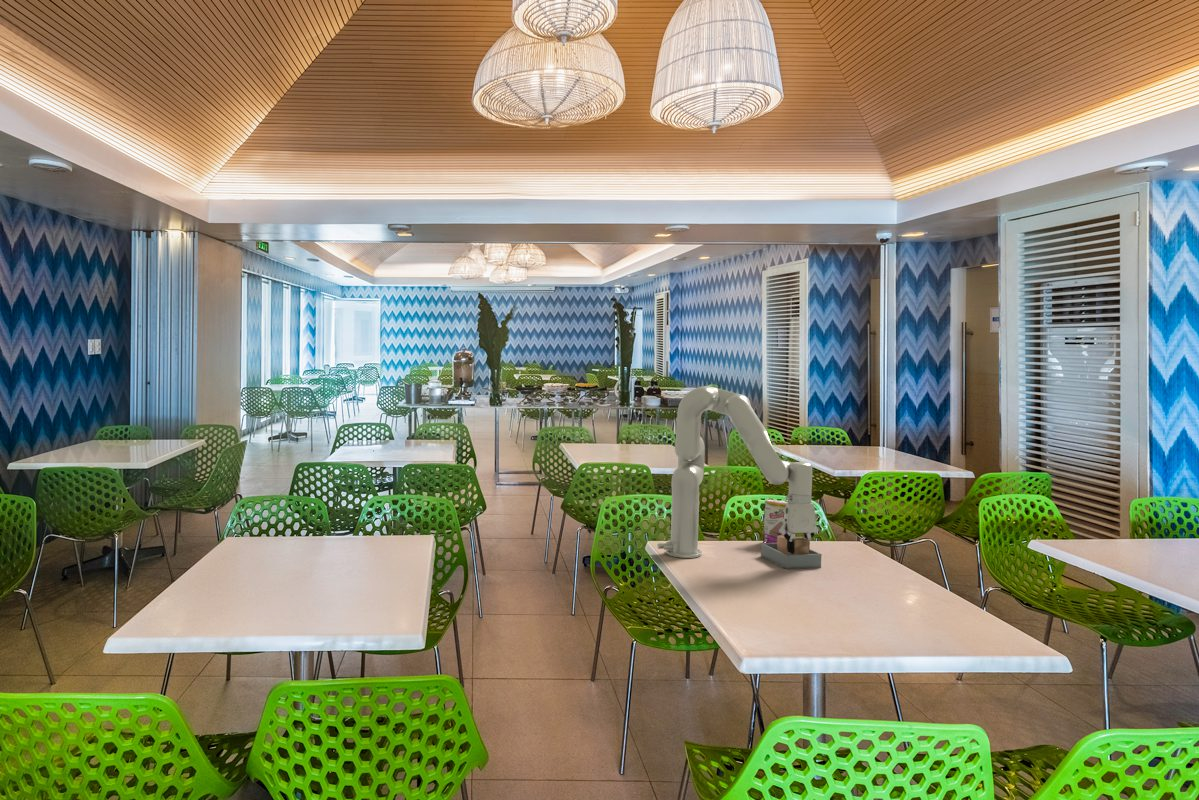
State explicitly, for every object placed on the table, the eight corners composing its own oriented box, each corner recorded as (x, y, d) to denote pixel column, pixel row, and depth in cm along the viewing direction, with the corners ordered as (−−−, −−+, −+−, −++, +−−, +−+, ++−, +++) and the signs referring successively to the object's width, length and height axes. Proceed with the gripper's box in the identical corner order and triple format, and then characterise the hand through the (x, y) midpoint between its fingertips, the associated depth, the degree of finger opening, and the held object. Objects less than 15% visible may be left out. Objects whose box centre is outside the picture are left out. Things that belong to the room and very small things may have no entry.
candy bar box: (762, 543, 287) (764, 500, 286) (766, 541, 291) (768, 499, 291) (791, 548, 281) (792, 504, 280) (795, 545, 285) (797, 502, 285)
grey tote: (785, 569, 251) (786, 555, 251) (761, 556, 267) (761, 543, 267) (820, 567, 254) (821, 554, 254) (794, 554, 271) (794, 542, 271)
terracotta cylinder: (780, 558, 262) (781, 538, 262) (774, 555, 267) (775, 535, 267) (793, 558, 263) (794, 538, 263) (787, 554, 268) (788, 535, 268)
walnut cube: (795, 555, 253) (795, 540, 253) (787, 551, 258) (788, 537, 258) (808, 554, 254) (809, 539, 254) (800, 551, 259) (801, 536, 259)
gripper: (782, 501, 250) (781, 556, 250) (828, 500, 254) (826, 553, 255) (771, 497, 257) (770, 550, 257) (816, 496, 261) (814, 548, 262)
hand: (798, 551), depth 256 cm, fingers closed on walnut cube, 5 cm apart
